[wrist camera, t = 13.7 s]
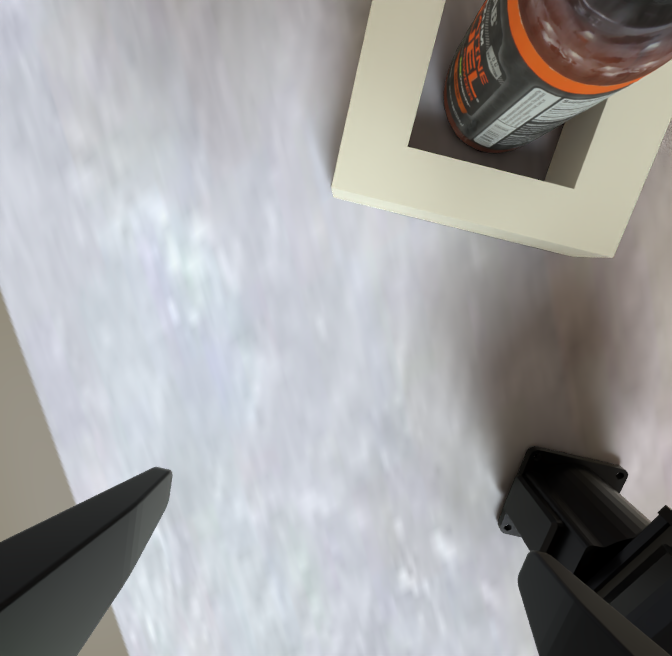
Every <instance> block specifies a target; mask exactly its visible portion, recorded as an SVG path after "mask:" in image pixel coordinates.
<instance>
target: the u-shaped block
mask: <svg viewBox="0 0 672 656" xmlns="http://www.w3.org/2000/svg"><path fill="white" fill-rule="evenodd" d="M445 1H446V0H372V4H371V9H370V13H369V18H368V22H367V27H366V32H365V36H364V41H363V45H362V50H361V54H360V59H359V64H358V68H357V73H356V77H355V82H354V86H353V91H352V95H351V100H350V105H349V109H348V114H347V118H346V123H345V127H344V132H343V137H342V141H341V146H340V150H339V155H338V159H337V164H336V168H335V173H334V178H333V182H332V187H331V188H332V193H333V197H334V198H338V199H342V200H346V201H350V202H354V203H358V204H362V205H366V206H370V207H374V208H378V209H382V210H386V211H390V212H394V213H398V214H402V215H406V216H410V217H414V218H418V219H422V220H426V221H430V222H434V223H438V224H442V225H446V226H450V227H454V228H458V229H462V230H467V231H471V232H475V233H479V234H483V235H487V236H491V237H495V238H499V239H503V240H507V241H511V242H515V243H519V244H523V245H527V246H531V247H535V248H539V249H543V250H547V251H551V252H555V253H559V254H563V255H567V256H571V257H604V258H613V257H614V255H615V252H616V250H617V247H618V245H619V243H620V240H621V238H622V235H623V233H624V231H625V228H626V226H627V223H628V221H629V219H630V216H631V214H632V211H633V209H634V207H635V204H636V202H637V199H638V197H639V195H640V192H641V190H642V187H643V185H644V183H645V180H646V178H647V175H648V173H649V171H650V168H651V166H652V163H653V161H654V159H655V156H656V154H657V151H658V149H659V147H660V144H661V142H662V139H663V137H664V135H665V132H666V130H667V127H668V125H669V123H670V120H671V118H672V59H671V60H670V61H668V62H667V63H666V64H664V65H663V66H661V67H660V68H658V69H657V70H655V71H653V72H652V73H650V74H648V75H646V76H645V77H643V78H641V79H640V80H638V81H637V82H634V83H633V84H631V85H630V86H628V87H626V88H624V89H622V90H620V91H619V92H617V93H615V94H613V95H612V96H610V97H608V98H606V99H605V100H603V101H601V102H599V103H598V104H596V105H594V106H592V107H591V108H589V109H587V110H586V111H584V112H582V113H581V114H579V115H577V116H575V117H573V118H572V119H570V120H568V121H566V122H565V124H564V126H563V129H562V132H561V135H560V138H559V141H558V143H557V146H556V149H555V152H554V155H553V158H552V160H551V163H550V166H549V169H548V172H547V175H546V177H545V180H544V181H541V180H537V179H533V178H529V177H525V176H521V175H517V174H513V173H509V172H505V171H501V170H497V169H494V168H490V167H486V166H482V165H478V164H474V163H470V162H466V161H462V160H458V159H454V158H450V157H446V156H442V155H438V154H434V153H430V152H427V151H423V150H419V149H415V148H411V147H408V143H409V139H410V135H411V131H412V127H413V124H414V120H415V116H416V112H417V108H418V104H419V101H420V97H421V93H422V89H423V85H424V81H425V78H426V74H427V70H428V66H429V62H430V58H431V55H432V51H433V47H434V43H435V39H436V35H437V32H438V28H439V24H440V20H441V16H442V12H443V9H444V5H445Z"/></svg>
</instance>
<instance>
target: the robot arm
mask: <svg viewBox="0 0 672 656" xmlns="http://www.w3.org/2000/svg"><path fill="white" fill-rule="evenodd" d="M537 453H538V455H537V456H535V457H534V455H535V454H537ZM617 473H618V474H617ZM627 477H628V472H627V471H626V470H625V469H623V468H622V467H621V466H619V465H614V464H610V463H606V462H602V461H597V460H593V459H589V458H584V457H580V456H576V455H571V454H567V453H563V452H558V451H554V450H550V449H545V448H541V447H536V446H534V447H531V448H529V449H528V451H527V452H526V455H525V457H524V460H523V462H522V464H521V467H520V469H519V472H518V474H517V476H516V478H515V480H514V483H513V485H512V487H511V490H510V492H509V495H508V497H507V500H506V502H505V504H504V508H503V511H502V513H501V515H500V518H499V520H498V526H499V528H500V530H501V531H502V532H503V533H505V534H509V535H514V536H518V537H522V539H523V540H524V542H525V544H526V545H527V547H528V549H529V550H530V552H529V553H528V554H527V557H526V559H525V561H524V563H523V566H522V568H521V570H520V572H519V575H518V587H519V590H520V594H521V597H522V600H523V604H524V607H525V610H526V614H527V617H528V620H529V624H530V627H531V630H532V634H533V637H534V640H535V644H536V647H537V650H538V653H539V656H672V509H671V508H669V507H668V506H667V505H665V506H664V507H663V508H662V509H661V510H660V511H659V512H658V514H659V515H658V516H657V517H656V518H655V519H654V520H653V521H652V522H651V521H650V520H649V519H647V518H646V517H645V516H644V515H643V514H642V513H641V512H640V511H638V510H637V509H636V508H635V507H634V506H633V505H632V504H630V503H629V502H628V501H627V500H626V499H625V498H624V497H623V496H621V495H620V494H619V493H620V491H621V489H622V487H623V485H624V483H625V481H626V479H627ZM171 482H172V471H171V470H169V469H164V468H160V467H154V468H151V469H149V470H147V471H145V472H143V473H141V474H139V475H137V476H135V477H133V478H131V479H129V480H127V481H125V482H123V483H120V484H118V485H116V486H114V487H112V488H110V489H108V490H106V491H104V492H102V493H100V494H98V495H96V496H94V497H92V498H90V499H88V500H86V501H84V502H82V503H79V504H77V505H75V506H73V507H71V508H69V509H67V510H65V511H63V512H61V513H59V514H57V515H55V516H53V517H51V518H49V519H47V520H45V521H43V522H41V523H38V524H37V525H35V526H33V527H30V528H28V529H26V530H24V531H22V532H20V533H18V534H16V535H14V536H12V537H10V538H8V539H6V540H4V541H2V542H0V656H77V655H78V653H79V652H80V650H81V649H82V647H83V646H84V644H85V643H86V641H87V640H88V638H89V637H90V635H91V634H92V632H93V631H94V629H95V628H96V626H97V625H98V623H99V622H100V620H101V619H102V617H103V616H104V614H105V613H106V611H107V610H108V608H109V607H110V605H111V604H112V602H113V601H114V599H115V598H116V596H117V595H118V593H119V592H120V590H121V588H122V587H123V585H124V584H125V582H126V581H127V579H128V577H129V576H130V574H131V572H132V570H133V569H134V567H135V565H136V563H137V561H138V559H139V558H140V556H141V554H142V552H143V550H144V548H145V546H146V545H147V543H148V541H149V539H150V537H151V535H152V533H153V532H154V530H155V528H156V526H157V524H158V522H159V520H160V518H161V517H162V515H163V513H164V511H165V509H166V507H167V504H168V501H169V496H170V489H171ZM507 524H508V525H507ZM505 525H507V526H505Z"/></svg>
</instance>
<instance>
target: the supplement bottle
mask: <svg viewBox="0 0 672 656" xmlns="http://www.w3.org/2000/svg"><path fill="white" fill-rule="evenodd" d="M671 59H672V0H485V2H484V4H483V6H482V7H481V9H480V11H479V13H478V14H477V16H476V17H475V19H474V21H473V23H472V25H471V26H470V28H469V30H468V31H467V33H466V35H465V37H464V39H463V41H462V42H461V44H460V46H459V47H458V49H457V51H456V54H455V55H454V57H453V60H452V62H451V65H450V67H449V70H448V73H447V77H446V81H445V87H444V106H445V111H446V115H447V118H448V120H449V123H450V125H451V127H452V129H453V130H454V131H455V134H456V135H457V136H458V137H459V138H460V139H461V140H462V141H463V142H464V143H466V144H467V145H469V146H471V147H473V148H475V149H477V150H480V151H483V152H487V153H501V152H507V151H511V150H514V149H517V148H519V147H521V146H523V145H525V144H527V143H529V142H531V141H533V140H535V139H537V138H538V137H540V136H542V135H544V134H545V133H547V132H549V131H551V130H552V129H554V128H556V127H558V126H559V125H561V124H563V123H564V122H566V121H568V120H570V119H572V118H573V117H575V116H577V115H579V114H581V113H582V112H584V111H586V110H587V109H589V108H591V107H592V106H594V105H596V104H598V103H599V102H601V101H603V100H605V99H606V98H608V97H610V96H612V95H613V94H615V93H617V92H619V91H620V90H622V89H624V88H626V87H628V86H630V85H631V84H633V83H634V82H637V81H638V80H640V79H641V78H643V77H645V76H646V75H648V74H650V73H652V72H653V71H655V70H657V69H658V68H660V67H661V66H663V65H664V64H666V63H667V62H668V61H670V60H671Z"/></svg>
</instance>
